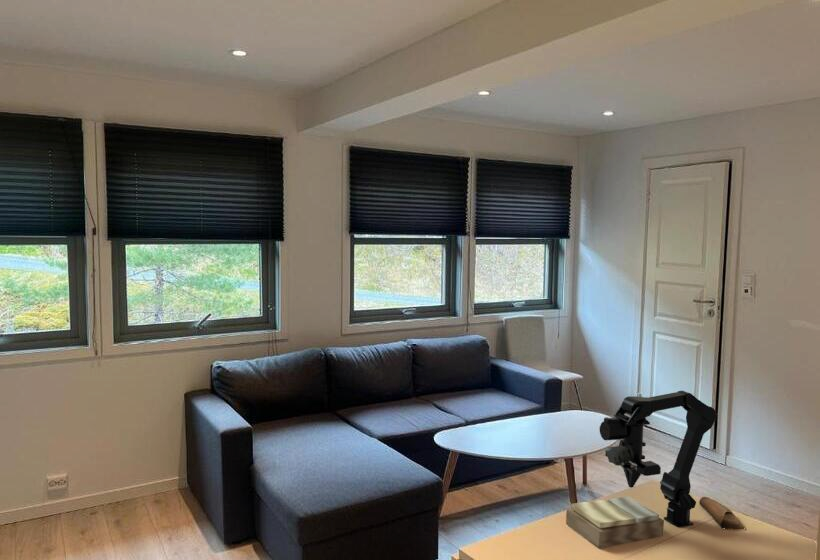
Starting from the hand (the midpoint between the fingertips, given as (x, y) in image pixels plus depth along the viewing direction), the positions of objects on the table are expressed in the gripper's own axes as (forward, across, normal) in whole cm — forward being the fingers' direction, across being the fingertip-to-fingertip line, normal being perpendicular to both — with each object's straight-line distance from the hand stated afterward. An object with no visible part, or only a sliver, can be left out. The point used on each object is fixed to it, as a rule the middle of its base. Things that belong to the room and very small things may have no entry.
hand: (630, 487), depth 186 cm
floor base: (+13, 0, -6) cm, 14 cm away
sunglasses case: (+14, +4, +35) cm, 38 cm away
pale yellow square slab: (+8, 0, -10) cm, 13 cm away
